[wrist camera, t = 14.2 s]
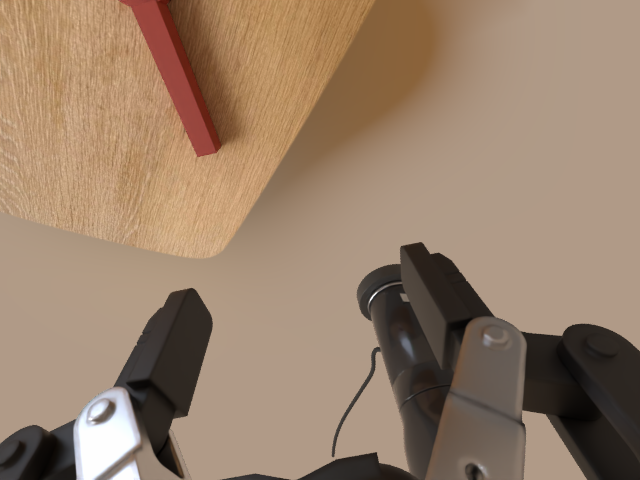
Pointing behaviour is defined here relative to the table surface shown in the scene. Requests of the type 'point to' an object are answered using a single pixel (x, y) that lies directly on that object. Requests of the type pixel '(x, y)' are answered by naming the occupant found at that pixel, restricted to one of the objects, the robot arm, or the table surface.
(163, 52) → the red flat paddle piece
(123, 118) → the table surface
